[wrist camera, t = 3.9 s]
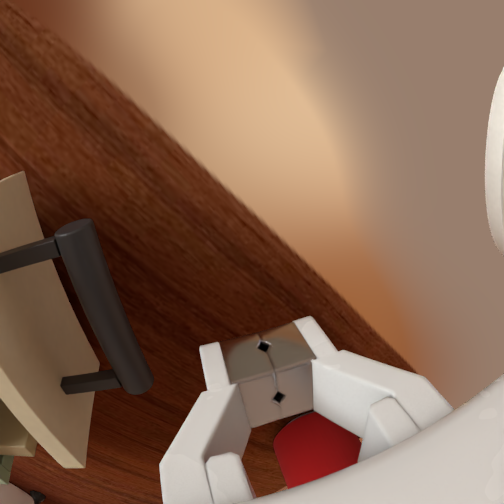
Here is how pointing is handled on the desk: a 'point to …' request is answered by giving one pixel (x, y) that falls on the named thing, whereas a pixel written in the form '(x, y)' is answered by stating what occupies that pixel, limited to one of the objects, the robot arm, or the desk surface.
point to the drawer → (56, 333)
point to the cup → (14, 495)
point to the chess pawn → (37, 497)
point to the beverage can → (314, 449)
